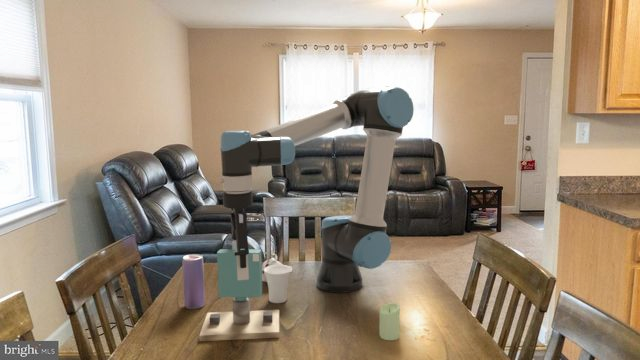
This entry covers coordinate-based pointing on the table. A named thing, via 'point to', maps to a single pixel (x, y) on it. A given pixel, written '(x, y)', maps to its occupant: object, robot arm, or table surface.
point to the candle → (389, 321)
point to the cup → (278, 282)
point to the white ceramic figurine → (268, 263)
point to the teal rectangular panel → (229, 278)
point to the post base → (240, 330)
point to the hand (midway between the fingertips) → (240, 270)
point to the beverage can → (193, 281)
